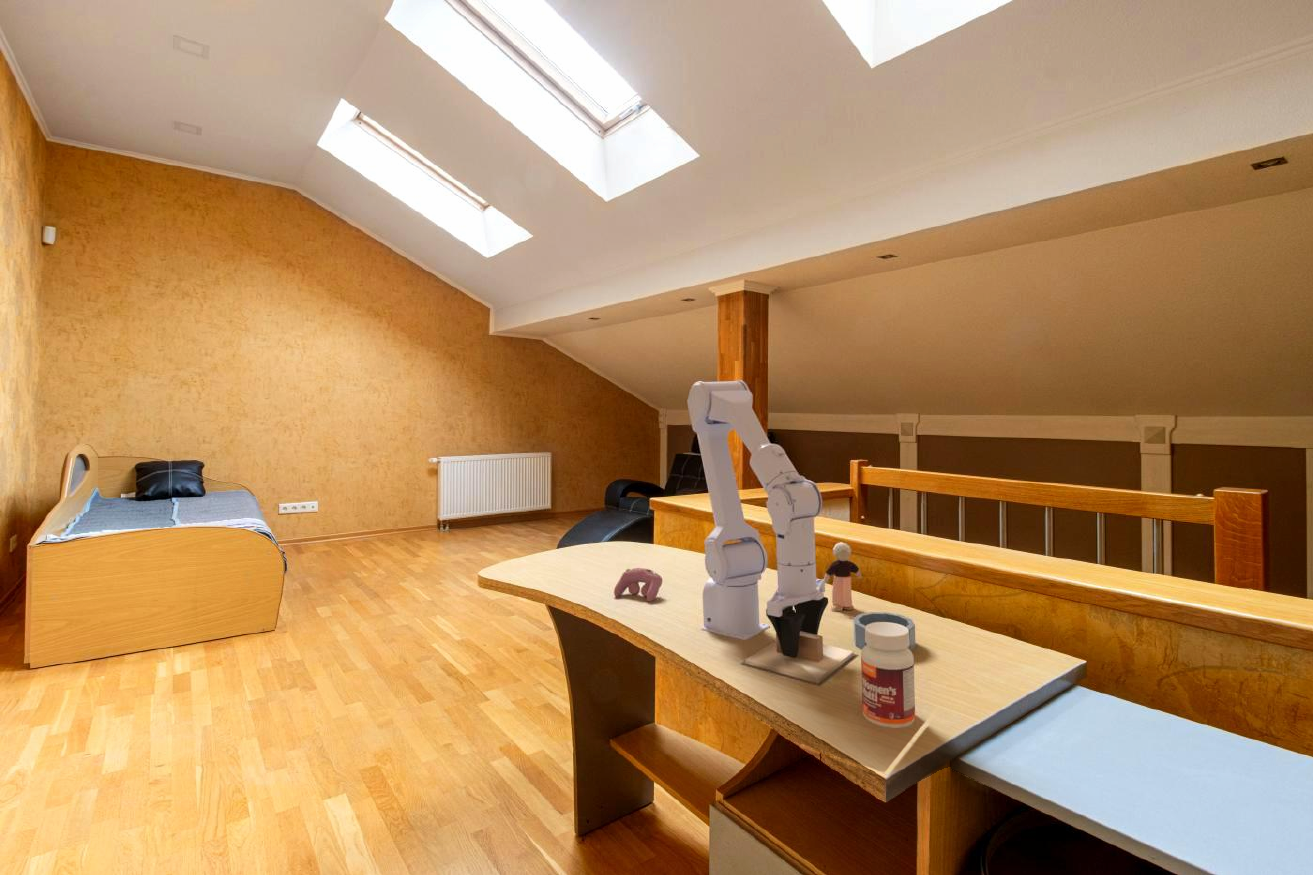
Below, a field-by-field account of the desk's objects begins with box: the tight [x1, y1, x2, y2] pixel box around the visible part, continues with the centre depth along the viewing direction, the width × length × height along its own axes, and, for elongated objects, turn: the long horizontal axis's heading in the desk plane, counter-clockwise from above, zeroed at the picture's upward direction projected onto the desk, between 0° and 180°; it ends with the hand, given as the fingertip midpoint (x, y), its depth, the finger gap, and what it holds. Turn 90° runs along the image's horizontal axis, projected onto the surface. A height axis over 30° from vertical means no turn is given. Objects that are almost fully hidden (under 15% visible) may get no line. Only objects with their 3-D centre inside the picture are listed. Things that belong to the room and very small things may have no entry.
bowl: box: [852, 611, 917, 653], centre depth 100 cm, size 9×9×4 cm
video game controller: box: [613, 567, 663, 603], centre depth 133 cm, size 10×5×7 cm, turn 58°
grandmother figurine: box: [822, 542, 862, 612], centre depth 119 cm, size 8×4×13 cm, turn 112°
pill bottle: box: [860, 622, 916, 729], centre depth 77 cm, size 6×6×11 cm
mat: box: [740, 653, 859, 687], centre depth 95 cm, size 13×13×1 cm
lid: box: [744, 631, 855, 683], centre depth 95 cm, size 12×12×4 cm
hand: (799, 649), depth 95 cm, fingers open, 5 cm apart
